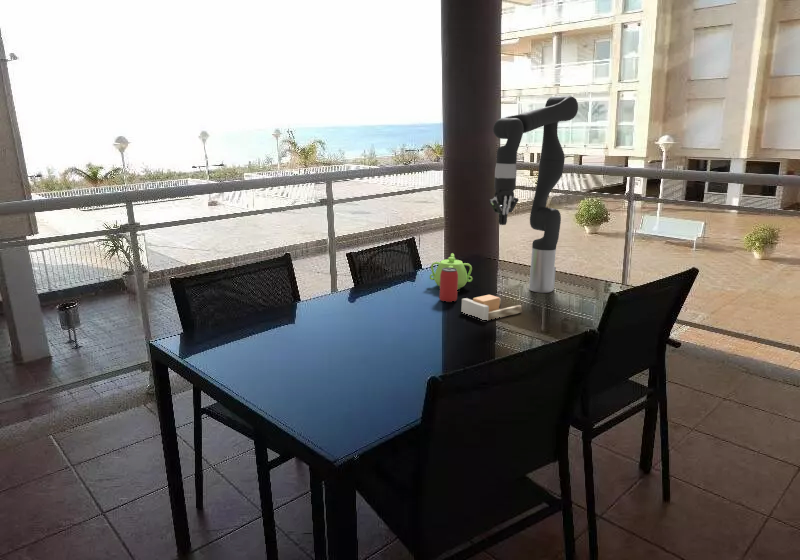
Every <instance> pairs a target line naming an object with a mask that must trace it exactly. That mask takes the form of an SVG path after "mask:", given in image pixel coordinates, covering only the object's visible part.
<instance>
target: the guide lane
mask: <svg viewBox="0 0 800 560" xmlns="http://www.w3.org/2000/svg"><path fill="white" fill-rule="evenodd" d="M501 303H502V299H501V298H500V304H499V307H500V306H501V305H502V304H501ZM522 308H523V305H521V304H517V305H512V306H508V307H504V308H499V310H494V311H490V312H489V314H488V320H487V321H491V319H492V320H496V319H499V317H500V318H504V317H507V316H512V315H517V314H521V313H522V310H523V309H522ZM495 318H496V319H495Z"/></svg>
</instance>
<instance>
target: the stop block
mask: <svg viewBox="0 0 800 560" xmlns="http://www.w3.org/2000/svg"><path fill="white" fill-rule="evenodd" d="M460 311H461V312H463V313H462V314H464V313H465V314H464V315H466V314H468V315H467V316H469V315H472V316H475V317H478V318H480V319H482V320H487V321H489V320H488V314H489V306H487V305H484V304H481V303H479V302H476V301H473V299H471V298H468V297H466V298H461V309H460ZM482 320H481V321H482Z"/></svg>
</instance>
